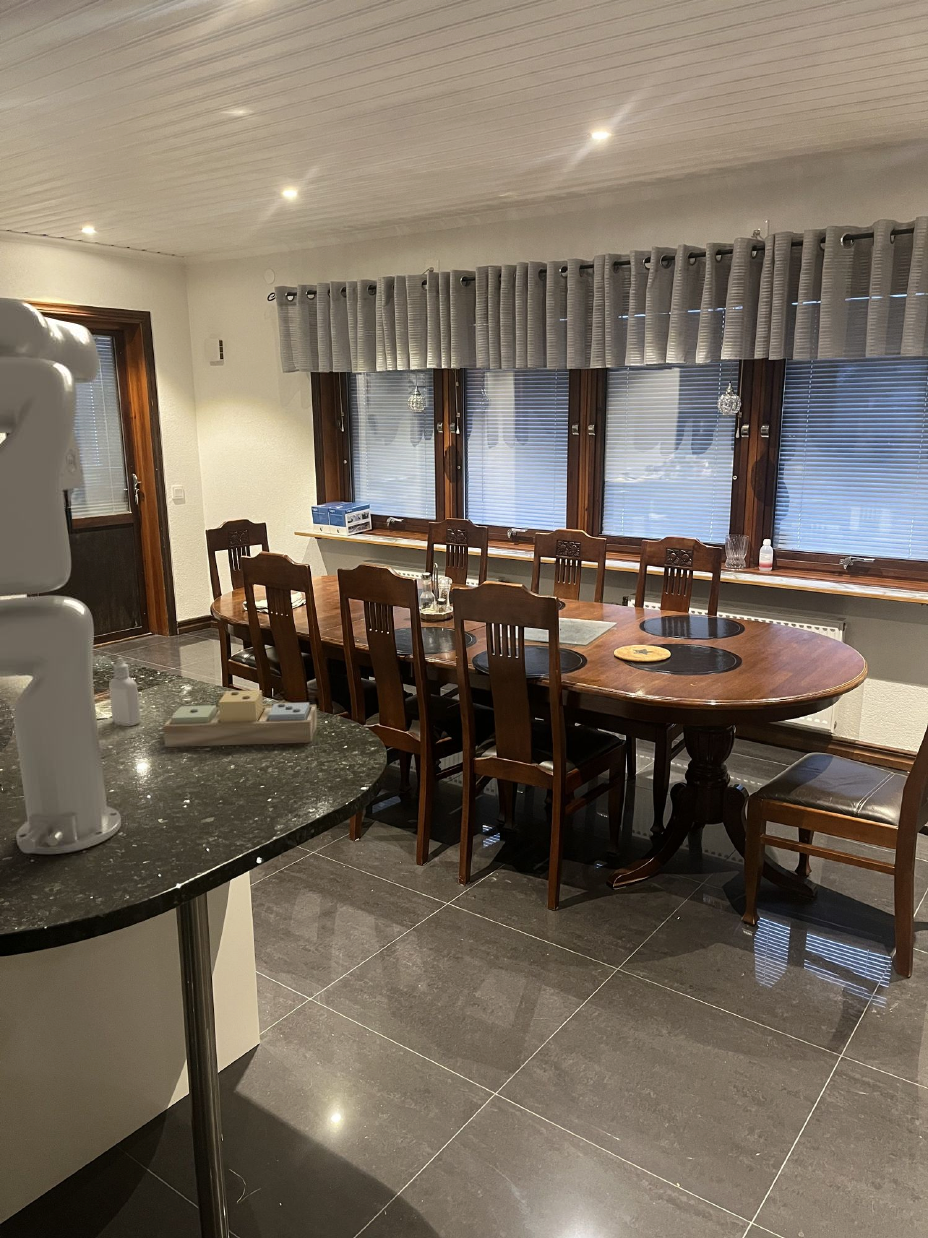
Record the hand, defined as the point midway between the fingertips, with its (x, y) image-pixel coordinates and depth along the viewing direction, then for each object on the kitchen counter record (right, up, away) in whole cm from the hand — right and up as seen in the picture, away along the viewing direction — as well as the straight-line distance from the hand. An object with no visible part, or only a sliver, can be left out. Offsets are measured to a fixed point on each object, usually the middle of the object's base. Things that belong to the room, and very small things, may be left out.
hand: (62, 532), depth 146 cm
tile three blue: (+36, -33, +6) cm, 49 cm away
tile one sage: (+20, -33, +6) cm, 40 cm away
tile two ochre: (+28, -31, +6) cm, 42 cm away
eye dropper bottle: (+5, -33, +14) cm, 36 cm away
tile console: (+28, -34, +6) cm, 45 cm away
